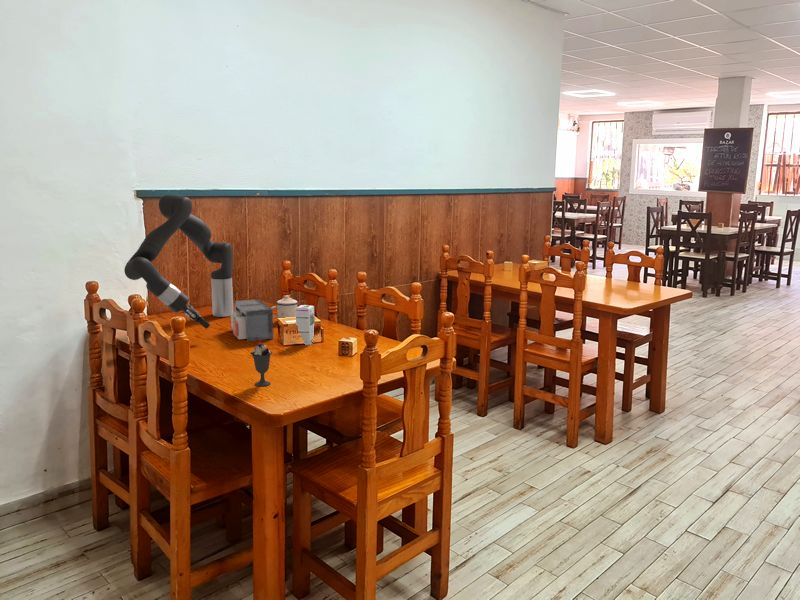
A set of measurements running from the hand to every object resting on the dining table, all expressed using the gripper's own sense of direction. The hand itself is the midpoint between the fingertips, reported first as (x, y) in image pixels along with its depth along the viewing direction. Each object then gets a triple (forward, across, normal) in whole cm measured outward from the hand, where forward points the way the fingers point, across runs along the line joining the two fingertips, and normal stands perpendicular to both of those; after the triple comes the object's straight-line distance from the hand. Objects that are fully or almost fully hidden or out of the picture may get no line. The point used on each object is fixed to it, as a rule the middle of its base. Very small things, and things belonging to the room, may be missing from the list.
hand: (208, 326), depth 250 cm
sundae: (+9, -58, 0) cm, 59 cm away
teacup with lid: (+30, +22, -21) cm, 42 cm away
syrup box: (+28, -16, -20) cm, 38 cm away
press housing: (+18, +6, -9) cm, 21 cm away
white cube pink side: (+15, 0, -6) cm, 16 cm away
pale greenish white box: (+16, +11, -8) cm, 21 cm away
